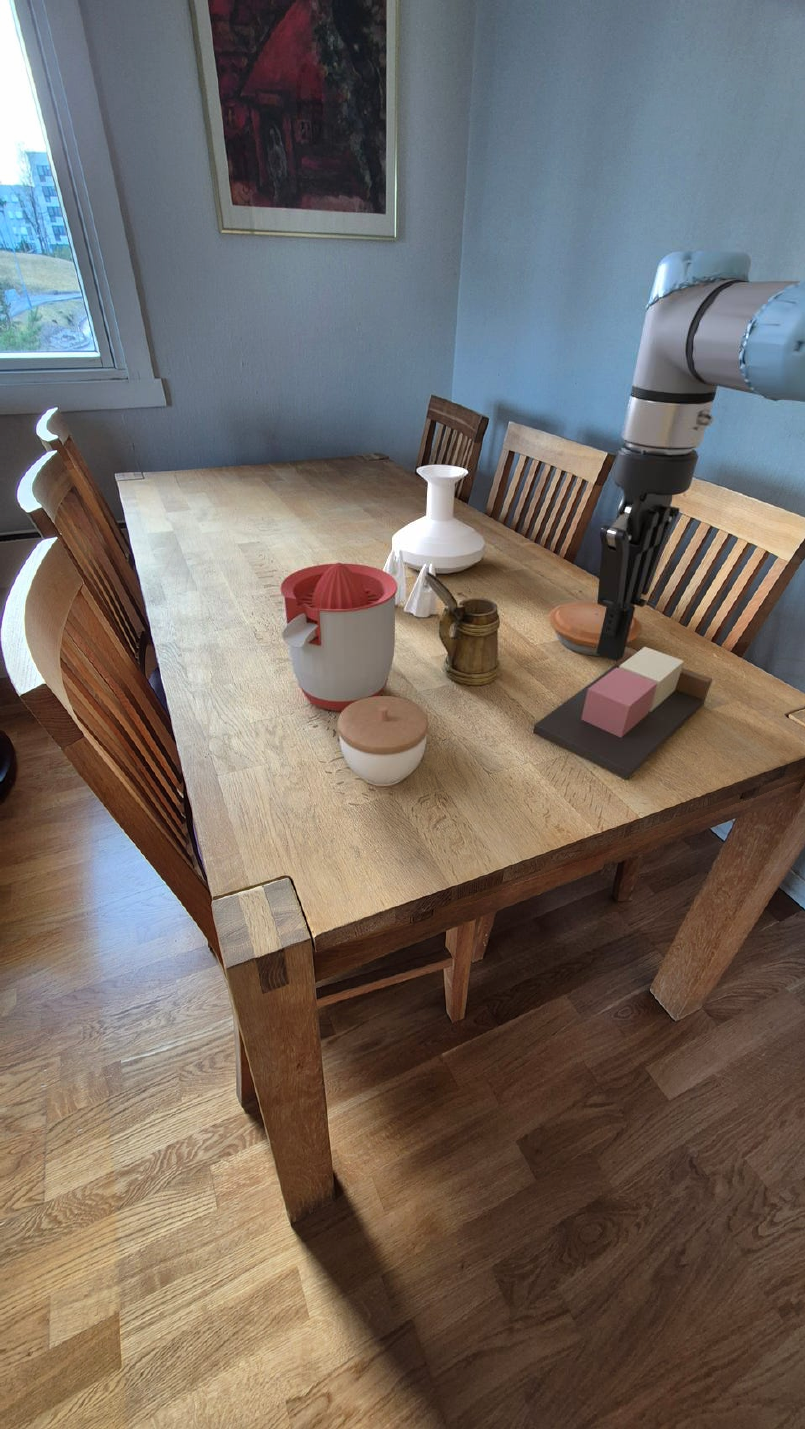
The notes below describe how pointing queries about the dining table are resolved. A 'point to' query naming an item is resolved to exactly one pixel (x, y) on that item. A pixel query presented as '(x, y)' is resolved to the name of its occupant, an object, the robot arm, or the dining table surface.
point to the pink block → (618, 701)
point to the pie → (584, 626)
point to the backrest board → (639, 740)
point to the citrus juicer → (340, 631)
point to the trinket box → (382, 738)
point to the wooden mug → (468, 637)
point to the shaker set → (421, 594)
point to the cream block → (655, 672)
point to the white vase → (439, 528)
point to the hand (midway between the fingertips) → (609, 655)
